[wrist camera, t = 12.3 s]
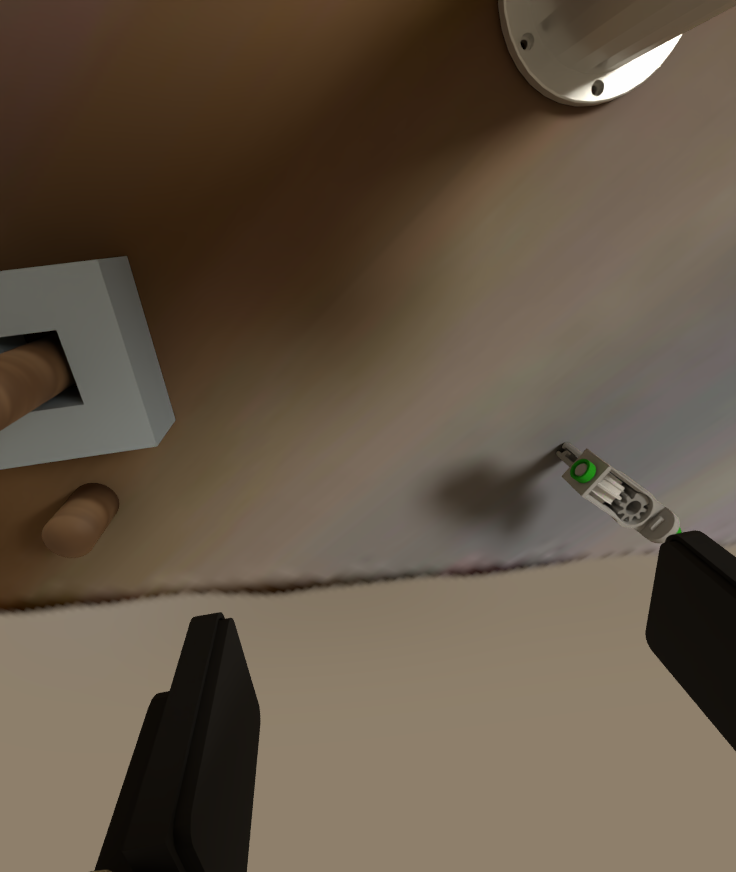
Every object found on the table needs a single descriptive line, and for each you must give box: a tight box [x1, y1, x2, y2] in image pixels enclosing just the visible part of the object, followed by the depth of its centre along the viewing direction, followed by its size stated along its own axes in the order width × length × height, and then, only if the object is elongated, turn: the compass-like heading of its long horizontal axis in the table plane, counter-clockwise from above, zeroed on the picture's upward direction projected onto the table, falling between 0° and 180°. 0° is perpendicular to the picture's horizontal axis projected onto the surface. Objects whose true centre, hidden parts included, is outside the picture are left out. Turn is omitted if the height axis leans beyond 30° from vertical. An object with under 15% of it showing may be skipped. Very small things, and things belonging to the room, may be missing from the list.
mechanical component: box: [556, 443, 681, 543], centre depth 38 cm, size 3×10×10 cm, turn 54°
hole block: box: [0, 256, 175, 470], centre depth 32 cm, size 12×12×5 cm
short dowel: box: [42, 483, 119, 558], centre depth 36 cm, size 4×4×5 cm
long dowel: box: [0, 332, 76, 431], centre depth 28 cm, size 4×4×12 cm
